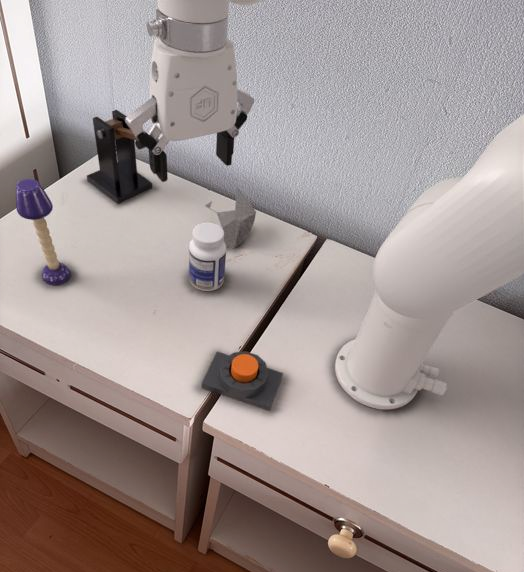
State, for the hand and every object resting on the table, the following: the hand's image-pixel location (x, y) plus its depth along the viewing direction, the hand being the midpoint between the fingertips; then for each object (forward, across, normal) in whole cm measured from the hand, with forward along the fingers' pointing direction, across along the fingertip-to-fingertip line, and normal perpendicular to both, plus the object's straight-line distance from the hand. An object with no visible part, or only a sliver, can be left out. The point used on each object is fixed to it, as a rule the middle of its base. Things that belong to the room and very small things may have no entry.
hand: (192, 168), depth 70 cm
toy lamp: (+19, -20, +8) cm, 29 cm away
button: (+17, -4, -23) cm, 29 cm away
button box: (+19, -4, -23) cm, 30 cm away
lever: (+8, 0, +22) cm, 23 cm away
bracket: (+19, -1, +27) cm, 33 cm away
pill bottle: (+19, +1, -3) cm, 20 cm away
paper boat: (+19, +11, +6) cm, 23 cm away
